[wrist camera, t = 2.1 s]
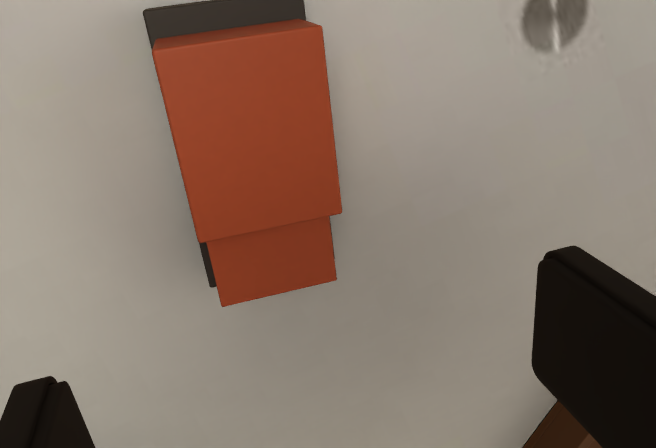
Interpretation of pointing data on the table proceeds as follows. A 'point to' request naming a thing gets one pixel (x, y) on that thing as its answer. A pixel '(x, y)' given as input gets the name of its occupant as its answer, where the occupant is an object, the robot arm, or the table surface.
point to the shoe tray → (561, 432)
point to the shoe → (251, 140)
